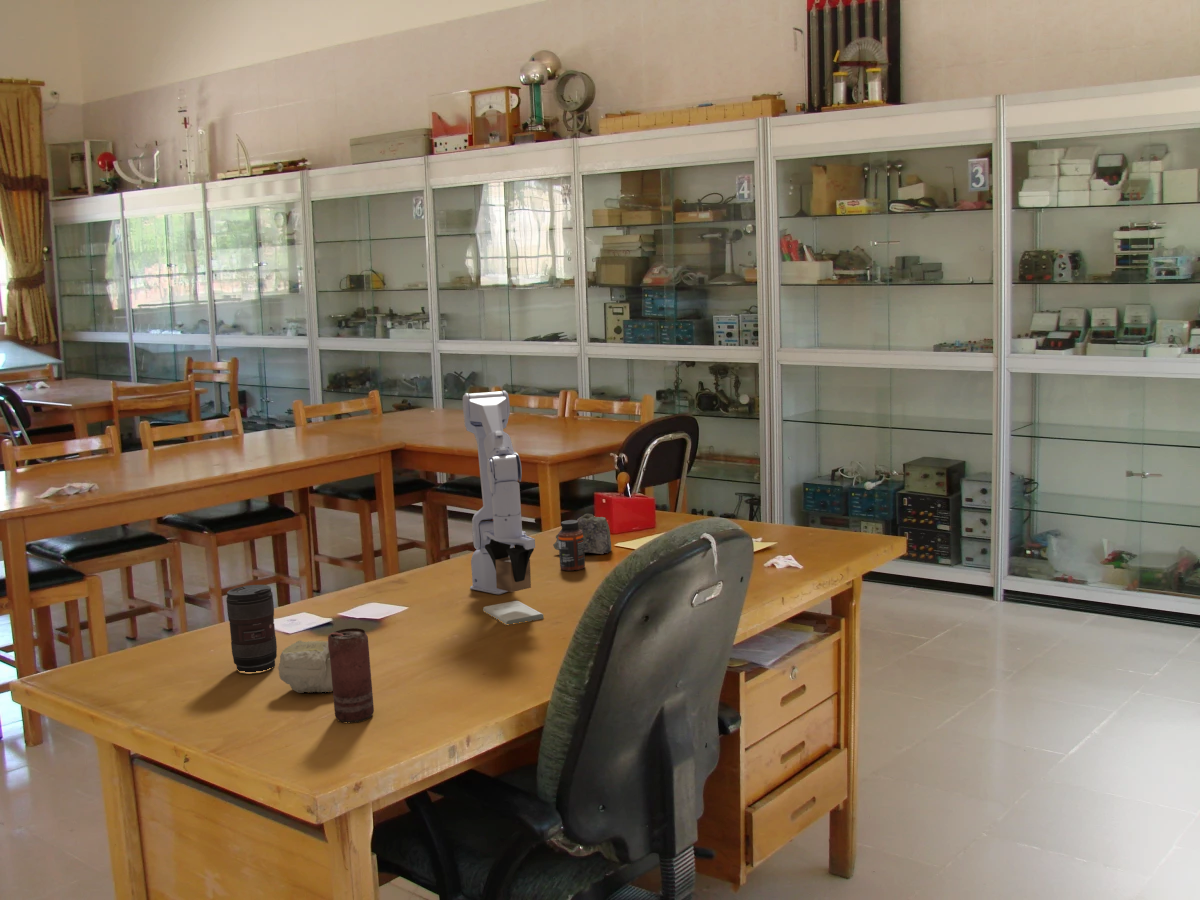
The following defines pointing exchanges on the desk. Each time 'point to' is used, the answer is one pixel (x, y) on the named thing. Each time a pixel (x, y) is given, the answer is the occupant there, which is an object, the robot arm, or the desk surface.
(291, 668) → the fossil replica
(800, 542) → the desk surface
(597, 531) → the mineral rock
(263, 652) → the camera lens
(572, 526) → the supplement bottle
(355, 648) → the can
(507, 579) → the walnut block
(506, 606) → the external hard drive
